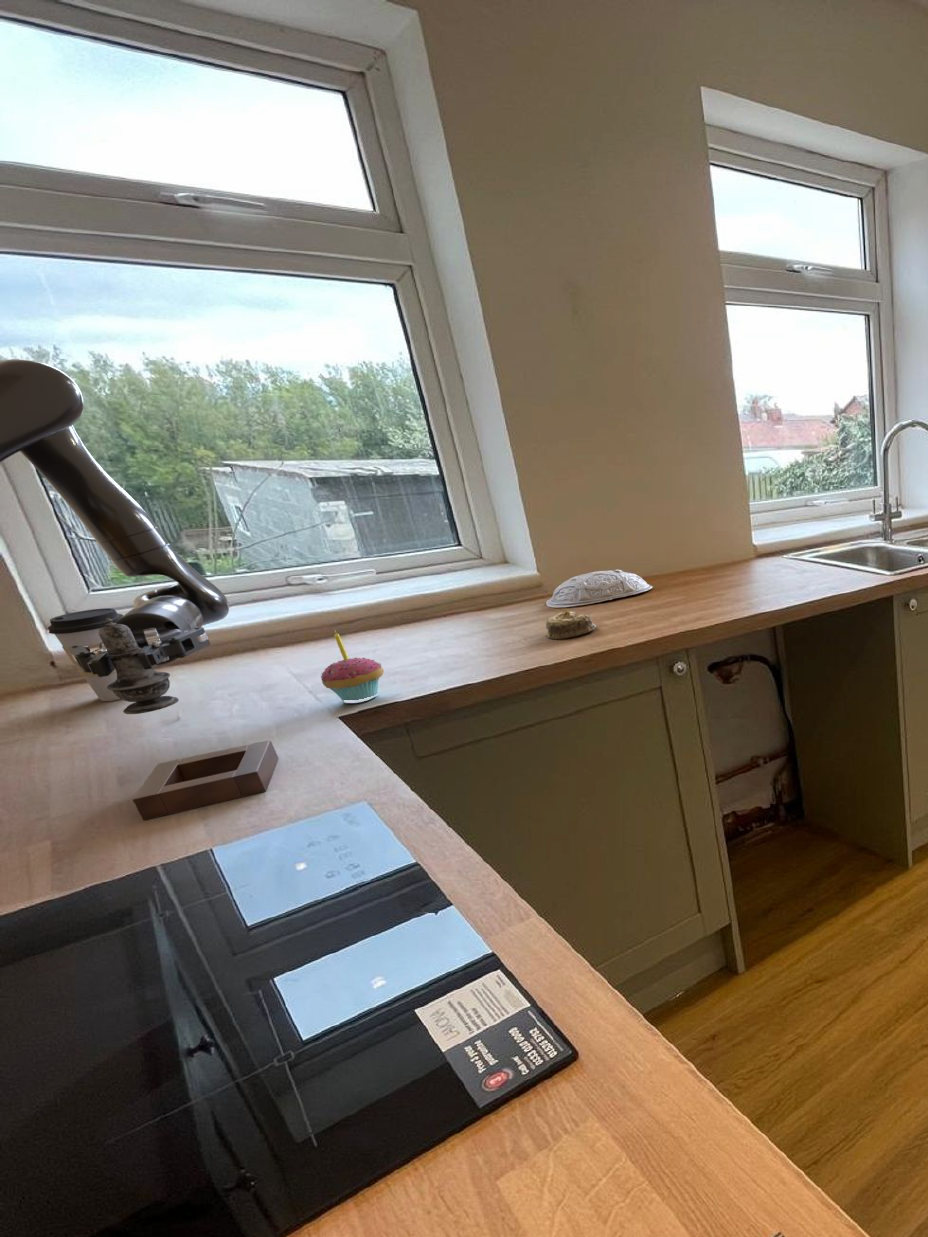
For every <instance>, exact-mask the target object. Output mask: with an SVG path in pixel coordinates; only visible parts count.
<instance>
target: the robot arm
mask: <svg viewBox="0 0 928 1237" xmlns="http://www.w3.org/2000/svg"><path fill="white" fill-rule="evenodd" d="M83 411H84V398H83V393H82V392H81V390H80V387H79V386H78V384H77V383H76V382H75V381H74V380H73V379H72V378H71V377H70V376H68V374H66V373H65V372H63V371H62V370H60V369H59V368H56V367H55V366H52V365H49V364H47V363H44V362H43V363H42V362H39V361H35V360H29V359H20V358H19V359H18V358H17V359H14V358H13V359H4V360H0V464H1V463H3V462H4V461H6V460H7V459H9V458H10V457H12V456H14V455H15V454H17V453H21V454H22V455H23V457H25V458H26V459H27V460H28V461H29V462H30V464H32V465H33V467H35V469H36V470H37V471H38V472H39V473H40V474H41V475H42V476H43V477H44V478H45V479H46V481H47V482H48V483H49V484H50V485H51V486H52V487H53V488H54V490H55V491H56V492H57V493H58V494H59V496H60V497H61V498H62V500H64V502H65V503H66V504H67V505H68V506H69V508H70V509H71V510H72V511H73V513H74V514H75V515H76V517H77V518H78V519H79V520H80V522H81V523H82V524H83V525H84V527H85V528H86V529H87V531H88V532H89V533H90V535H91V536H92V537H93V538H94V540H95V541H96V542H97V544H98V546H100V547H101V549H102V550H103V552H104V553H105V554H106V555H107V557H108V558H109V559H110V560H111V562H112V563H113V564H114V565H115V567H116V568H117V570H118V571H119V572H121V573H122V574H123V575H124V576H127V577H130V578H131V577H132V578H138V577H139V578H140V577H148V576H163V577H166V578H169V579H171V580H173V581H175V582H176V583H173V584H171V585H168V586H164V587H160V588H157V589H153V590H149V591H146V592H143V593H141V594H140V595H138V596H136V597H135V598H134V599H133V608H131V609H130V610H129V611H127V613H125V614H124V615H123V617H121V618H120V619H119V620H118V621H117V622H116V624H122V625H125V626H127V627H129V629H130V630H131V632H132V634H133V636H134V638H135V640H136V642H137V644H138V647H140V648H143V649H142V650H141V651H140V652H138V658H139V660H140V662H141V664H142V666H143V668H144V669H145V670H147V669H153V670H154V668H156V666H164V665H168V664H170V663H173V662H175V661H176V660H178V659H183V658H186V657H187V656H190V655H192V654H194V653H196V652H198V651H200V650H202V649H204V648H206V647H208V646H210V645H211V641H210V639H209V637H208V635H207V632H206V630H205V628H204V627H203V626H206V625H210V624H213V623H215V622H219V621H221V620H224V619H225V618H226V617H227V616H228V614H229V611H230V604H229V600H228V598H227V596H226V595H225V594H224V593H223V591H222V590H220V589H219V588H218V586H216V585H215V584H214V583H212V582H211V581H210V580H209V579H207V578H206V577H204V576H203V575H202V574H201V573H199V571H197V570H196V569H195V568H194V567H193V566H191V565H190V563H188V562H187V561H186V560H185V559H184V558H183V557H182V556H181V555H180V554H179V553H178V552H177V551H176V550H175V549H174V546H172V545H171V543H169V541H168V539H167V538H166V536H165V535H164V534H163V532H162V531H161V530H160V528H159V527H158V526H157V524H156V523H155V522H154V520H153V519H152V517H151V516H150V515H149V514H148V512H146V511H145V510H144V508H143V507H142V506H141V504H139V503H138V502H137V500H135V498H133V496H131V495H130V494H129V493H128V492H127V491H126V490H125V489H124V488H123V487H121V485H119V484H118V483H117V481H115V480H114V478H112V476H110V475H109V474H108V473H107V472H106V471H105V470H104V468H102V466H101V465H100V464H99V463H98V462H97V461H96V459H95V458H94V456H92V454H91V453H90V452H89V450H88V449H87V447H86V446H85V444H84V443H83V441H82V440H81V437H80V436H79V435H78V433H77V431H76V429H75V427H74V425H75V424H76V423H77V422H78V421H79V419H80V417H81V416H82V413H83ZM69 650H70V652H71V654H72V656H73V658H74V659H75V661H76V663H77V665H78V666H79V667H80V668H81V669H82V670H83V671H84V672H85V673H88V672H89V673H92V674H93V675H95V674H97V675H98V676H99V677H104V676H108V675H109V674H110V673H112V672H113V671H114V670H115V667H114V665H113V663H112V661H111V659H109V658H106V657H105V656H106V655H107V654H108V652H107V650H106V648H105V646H104V644H103V642H101V643H100V644H99V647H98V648H93V649H89V647H88V646H84V647H83V646H82V645H79V646H77V645H74V646H72V647H69Z"/></svg>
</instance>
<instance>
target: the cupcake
mask: <svg viewBox="0 0 928 1237" xmlns="http://www.w3.org/2000/svg"><path fill="white" fill-rule="evenodd" d="M333 632H334V639H335V642H336V644H337V646H338V648H339V652H340V654H341V656H342V658H343V659H342V660H338V661H337V662H332V663H331V664H329V665H328V666H327V667H325V669H324V670H323V672H322V673H321V676H320V678H321V683H322V685H323V686H324V687H325V688H327V689H329V690H331V691H332V692H334V693H335V694H336V695H337V696H338V697H339V698H340V700H341V701H342V700H359V699H364V698H367V697H371V696H374V695H376V694H377V693H378V692H379V679H380V678H381V677H382V676H383V674H384V672H385V671H384V668H383V666H382V663H381V662H377V661H376V660H374V659H370V658H366V657H362V658H361V657H355V658H353V657H352V658H349V656H348V654H347V651H346V649H345V646H344V643H343V641H342V639H341V638H342V637H341V636H340V634H339V633H337V631H336V629H333ZM378 694H379V693H378Z"/></svg>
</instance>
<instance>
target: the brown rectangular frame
mask: <svg viewBox="0 0 928 1237" xmlns="http://www.w3.org/2000/svg"><path fill="white" fill-rule="evenodd" d="M278 761H279V756H278V753H277V751H276V750H275V747H274V745H273V742H272V740H271V739H268V740H263V741H259V742H253V743H248V744H244V745H240V746H236V747H231V748H226V749H221V750H217V751H211V752H206V753H201V754H197V755H193V756H187V757H183V758H179V759H173V760H169V761H164V762H159V763H157V764H156V765H155V767H154V769H153V770H152V771H151V773H150V774H149V775H148V776H147V779H146V780H145V781H144V783H143V784H142V785H141V787H140V788H139V790H138V791H137V793H136V794H135V795H134V797H133V798H132V802H133V804H134V806H135V807H136V810H137V811H138V813H139V816H141V819H142V820H143V821H147V820H151V819H155V818H159V817H163V816H169V815H172V814H176V813H180V812H184V811H185V812H186V811H190V810H193V809H197V808H201V807H202V808H203V807H206V806H210V805H211V806H212V805H214V804H215V805H216V804H218V803H219V804H220V803H223V802H227V801H231V800H236V799H239V798H244V797H249V796H252V795H258V794H261V793H265V792H267V789H268V787H269V784H270V781H271V779H272V776H273V775H274V771H275V768H276V766H277V763H278Z"/></svg>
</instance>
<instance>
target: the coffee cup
mask: <svg viewBox="0 0 928 1237" xmlns="http://www.w3.org/2000/svg"><path fill="white" fill-rule="evenodd" d="M123 616H124V615H123V613H118V612H117V611H116V609H115V608H113V607H112V608H109V607H106V608H94V609H87V610H80V611H74V612H69V613H65V614H61V615H57V616H54V617H52V618H50V619H49V623H50V625H49V626H48V627H47V630H48V633H49V634H51V635H54V636H55V637H56V639H57V640H58V641H59V643H60V644H61V648H62V649H63V651H64V652H65V653H66V655H67V657H68V658H69V660H70V661H71V663H72V664H73V665H74V667H75V668H76V670H77V671H78V673H79V674H80V675H81V677H83V678H84V679H85V681H86V682H87V684H88V685H89V686H90V688H91V689H92V691H93V692H94V693H95V695H96V696H97V698H98V699H99V701H101V702H115V701H119V700H121V699H120V698H119V697H117V696H116V695H115V694H114V692H113V690H109V689H108V688H107V687H108V685H110V684H111V683H113V682H115V681H116V680H117V673H116V669H115V670H114V671H113V672H112V673H110V674H109V675H108V676H104V677H99V676H98V675H97V674H95V675H93V674H92V673H89V672H88V673H85V672H84V671H83V670H82V669H81V668H80V667H79V666H78V665H77V663H76V661H75V659H74V658H73V656H72V654H71V652H70V650H69V647H72V646H74V645H77V646H79V645H82V646H83V647H84V646H88V647H89V649H93V648H98V647H99V644H100V643H101V642H102V640H101V638H100V636H99V633H98V632H99V630H100V629H101V628H102V627H104V626H106V625H107V624H108V623H107V622H105V621H106V619H107V618H110V619H111V620H113V621H112V622H113V623H116V622H117V621H118V620H119V619H120V618H121V617H123Z"/></svg>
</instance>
